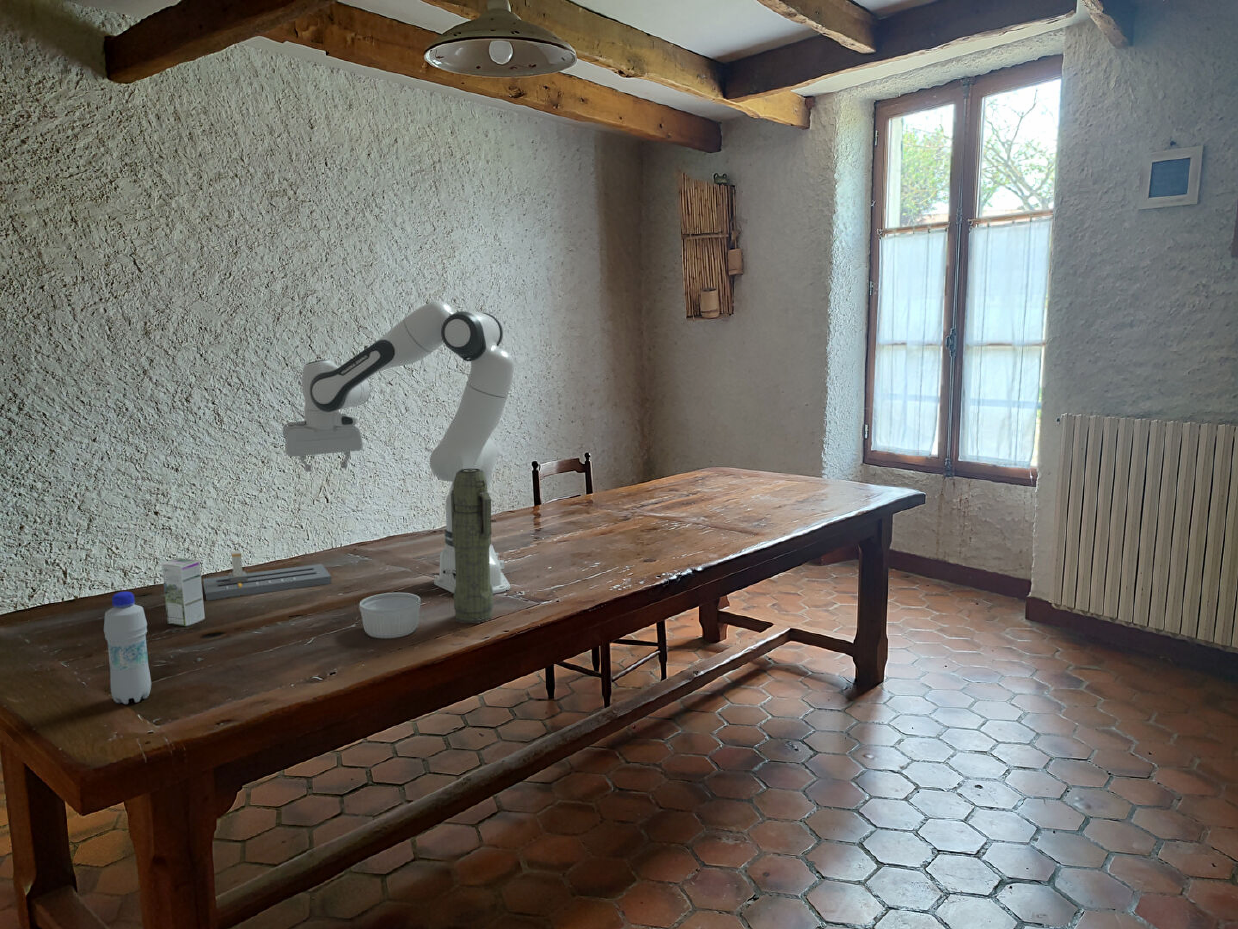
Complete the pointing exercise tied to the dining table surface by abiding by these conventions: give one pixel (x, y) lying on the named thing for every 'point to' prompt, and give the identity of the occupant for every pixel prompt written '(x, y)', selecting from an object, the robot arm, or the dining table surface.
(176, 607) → the syrup box
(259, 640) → the dining table surface
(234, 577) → the fader
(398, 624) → the ramekin
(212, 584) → the console
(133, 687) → the bottle
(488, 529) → the thermos
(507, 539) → the dining table surface
